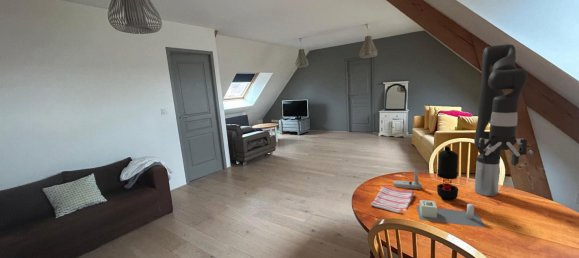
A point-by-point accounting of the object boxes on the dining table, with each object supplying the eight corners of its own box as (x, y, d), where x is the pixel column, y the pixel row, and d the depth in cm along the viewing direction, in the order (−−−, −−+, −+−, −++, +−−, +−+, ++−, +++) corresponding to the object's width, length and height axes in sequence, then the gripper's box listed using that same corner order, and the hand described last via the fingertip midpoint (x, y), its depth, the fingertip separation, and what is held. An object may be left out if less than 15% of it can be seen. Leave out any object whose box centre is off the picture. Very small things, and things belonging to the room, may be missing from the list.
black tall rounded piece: (456, 208, 113) (459, 148, 108) (434, 203, 119) (436, 146, 114) (459, 197, 123) (462, 141, 118) (439, 192, 129) (441, 139, 124)
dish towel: (414, 195, 129) (414, 189, 129) (406, 216, 111) (406, 209, 110) (382, 189, 139) (382, 184, 138) (370, 207, 121) (370, 201, 120)
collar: (421, 216, 106) (421, 206, 105) (419, 209, 112) (419, 199, 111) (436, 218, 104) (437, 207, 103) (434, 211, 110) (434, 201, 109)
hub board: (419, 222, 104) (420, 206, 103) (416, 209, 115) (416, 194, 114) (486, 230, 95) (487, 213, 94) (475, 215, 106) (476, 199, 105)
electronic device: (393, 169, 144) (421, 170, 137) (393, 184, 146) (421, 186, 139) (392, 172, 139) (421, 174, 132) (393, 187, 141) (421, 190, 134)
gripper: (483, 125, 89) (480, 166, 92) (533, 125, 83) (528, 168, 86) (476, 122, 95) (474, 160, 98) (522, 121, 90) (518, 162, 93)
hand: (499, 164), depth 92 cm, fingers open, 8 cm apart
